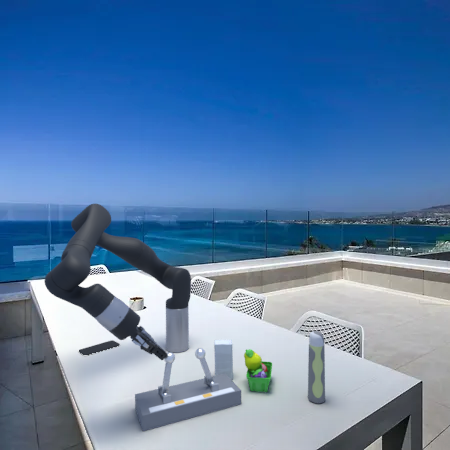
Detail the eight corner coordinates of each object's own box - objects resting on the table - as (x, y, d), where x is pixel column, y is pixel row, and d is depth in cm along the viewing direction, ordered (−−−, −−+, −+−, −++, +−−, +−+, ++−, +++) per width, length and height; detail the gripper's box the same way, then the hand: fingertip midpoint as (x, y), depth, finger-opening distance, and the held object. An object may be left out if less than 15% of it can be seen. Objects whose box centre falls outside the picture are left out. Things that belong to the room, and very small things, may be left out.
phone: (77, 350, 131) (112, 339, 142) (77, 352, 131) (112, 341, 142) (84, 355, 126) (120, 344, 137) (84, 357, 126) (120, 346, 137)
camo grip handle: (306, 394, 98) (306, 329, 98) (323, 395, 98) (323, 329, 97) (309, 403, 93) (309, 334, 93) (326, 404, 93) (326, 335, 92)
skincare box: (232, 373, 112) (232, 339, 111) (232, 380, 107) (232, 344, 107) (214, 374, 111) (214, 339, 111) (214, 380, 107) (214, 344, 107)
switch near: (156, 394, 91) (163, 349, 91) (167, 393, 92) (173, 349, 92) (160, 401, 87) (166, 355, 88) (171, 400, 88) (177, 355, 89)
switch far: (205, 385, 97) (191, 349, 95) (214, 379, 98) (200, 344, 96) (210, 391, 93) (196, 354, 91) (219, 386, 94) (205, 349, 92)
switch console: (135, 408, 92) (134, 387, 91) (225, 386, 103) (225, 367, 103) (142, 431, 82) (142, 407, 82) (241, 403, 94) (241, 383, 93)
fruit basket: (271, 395, 98) (271, 358, 98) (242, 392, 100) (241, 356, 99) (272, 376, 109) (272, 343, 109) (246, 374, 111) (246, 342, 111)
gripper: (131, 312, 79) (180, 354, 84) (124, 300, 91) (168, 337, 96) (108, 337, 77) (160, 378, 82) (104, 321, 89) (150, 358, 94)
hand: (164, 356), depth 89 cm, fingers closed
